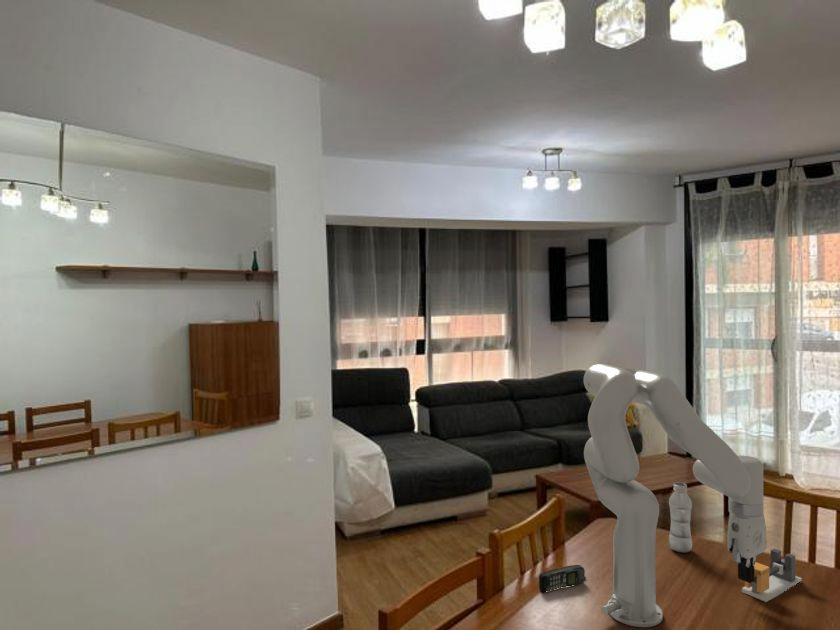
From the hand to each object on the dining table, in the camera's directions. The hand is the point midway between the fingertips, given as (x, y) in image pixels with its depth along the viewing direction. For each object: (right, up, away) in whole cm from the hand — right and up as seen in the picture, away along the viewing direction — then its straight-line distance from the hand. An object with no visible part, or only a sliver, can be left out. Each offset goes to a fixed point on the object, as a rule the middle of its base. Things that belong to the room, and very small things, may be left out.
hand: (746, 579), depth 142 cm
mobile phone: (-43, -6, +9) cm, 44 cm away
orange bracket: (+4, -3, +3) cm, 6 cm away
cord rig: (+11, -5, +7) cm, 14 cm away
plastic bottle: (-3, -5, +29) cm, 30 cm away
